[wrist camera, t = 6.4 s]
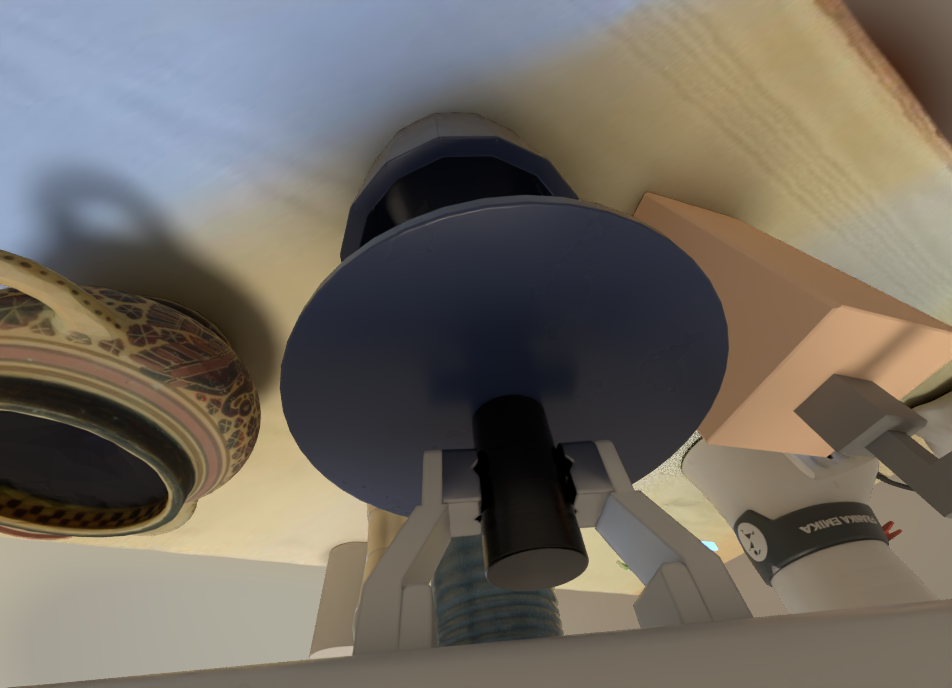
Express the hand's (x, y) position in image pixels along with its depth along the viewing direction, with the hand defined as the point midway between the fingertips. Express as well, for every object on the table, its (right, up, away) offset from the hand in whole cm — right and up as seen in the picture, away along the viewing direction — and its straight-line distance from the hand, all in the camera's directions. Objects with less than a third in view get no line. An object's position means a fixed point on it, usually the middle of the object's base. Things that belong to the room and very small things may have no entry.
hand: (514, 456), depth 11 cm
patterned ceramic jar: (-26, +3, +20) cm, 33 cm away
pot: (-3, +13, +16) cm, 21 cm away
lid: (0, +1, +2) cm, 2 cm away
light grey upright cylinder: (-19, -28, +45) cm, 56 cm away
